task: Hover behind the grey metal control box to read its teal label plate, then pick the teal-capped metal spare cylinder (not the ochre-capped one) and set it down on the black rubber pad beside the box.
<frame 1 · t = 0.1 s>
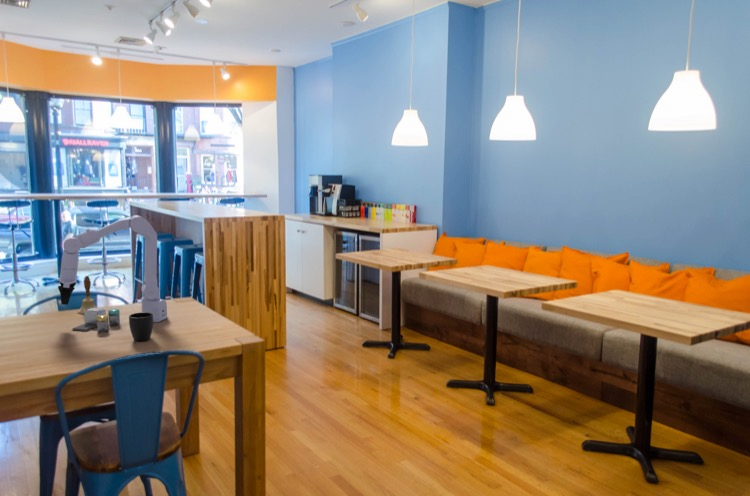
hand: (65, 302, 217), 10 cm above the table, tool pointing down, fingers open, 7 cm apart
pad: (84, 328, 218), on the table
hand bell: (88, 312, 243), on the table
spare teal: (114, 324, 224), on the table
mug: (143, 338, 208), on the table
control box: (95, 324, 224), on the table
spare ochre: (103, 331, 215), on the table
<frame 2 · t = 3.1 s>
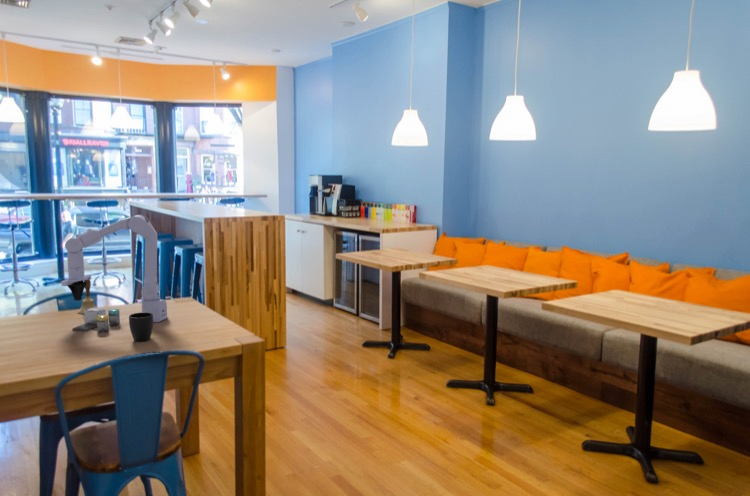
hand: (77, 300, 224), 10 cm above the table, tool pointing down, fingers closed
nothing on the table moved.
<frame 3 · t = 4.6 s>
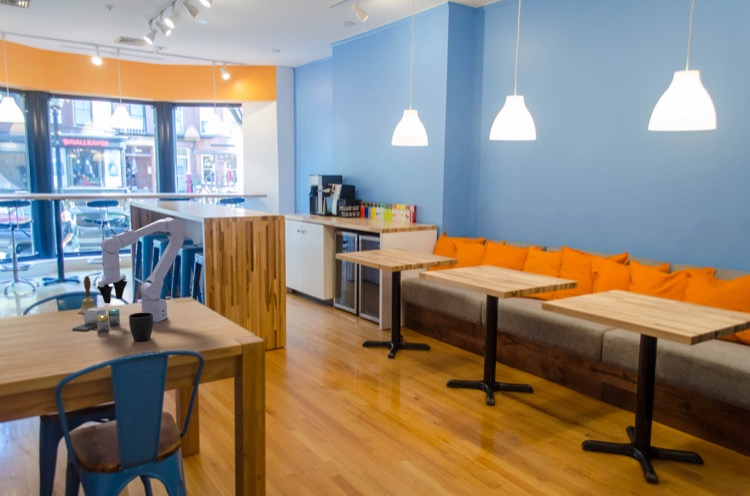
hand: (113, 300, 223), 10 cm above the table, tool pointing down, fingers open, 7 cm apart
nothing on the table moved.
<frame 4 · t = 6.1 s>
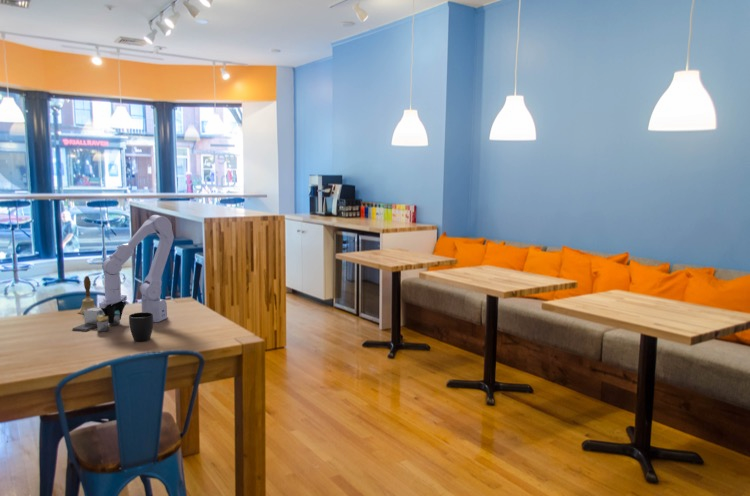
hand: (114, 321, 224), 1 cm above the table, tool pointing down, fingers closed on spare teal, 4 cm apart
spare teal: (114, 324, 224), on the table, touching gripper
everything else where it was.
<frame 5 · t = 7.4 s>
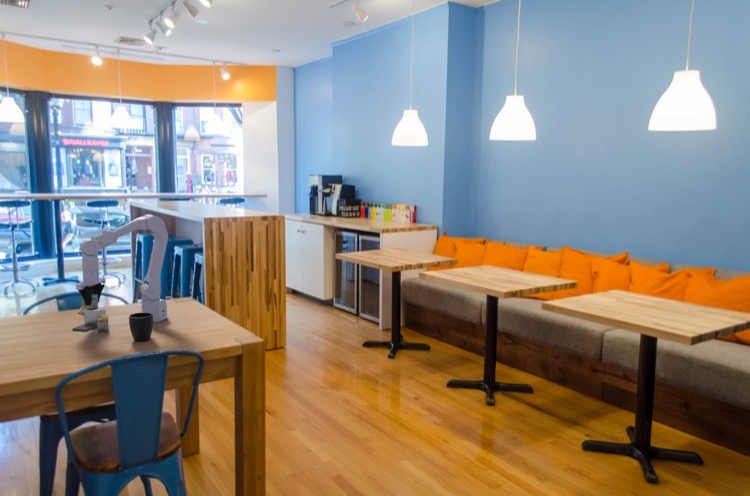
hand: (92, 304, 219), 10 cm above the table, tool pointing down, fingers closed on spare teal, 4 cm apart
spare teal: (92, 309, 219), point 8 cm above the table, touching gripper
everything else where it was.
when the fingers open (4 cm above the table, at t = 9.1 s): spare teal stays where it is, resting on pad.
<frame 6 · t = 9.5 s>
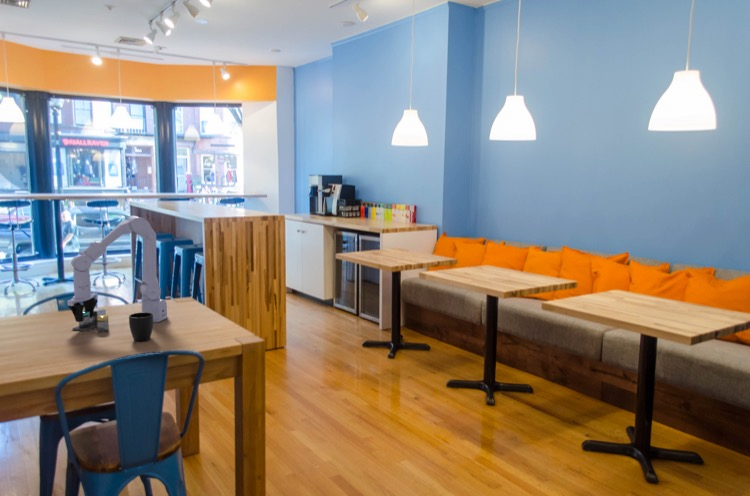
hand: (84, 319, 218), 4 cm above the table, tool pointing down, fingers open, 5 cm apart
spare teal: (84, 326, 218), point 1 cm above the table, touching pad
everything else where it was.
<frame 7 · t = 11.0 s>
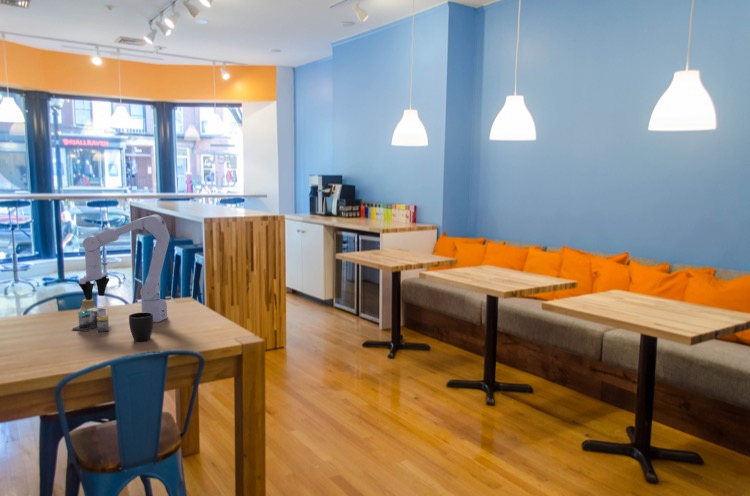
hand: (95, 297, 228), 10 cm above the table, tool pointing down, fingers open, 7 cm apart
nothing on the table moved.
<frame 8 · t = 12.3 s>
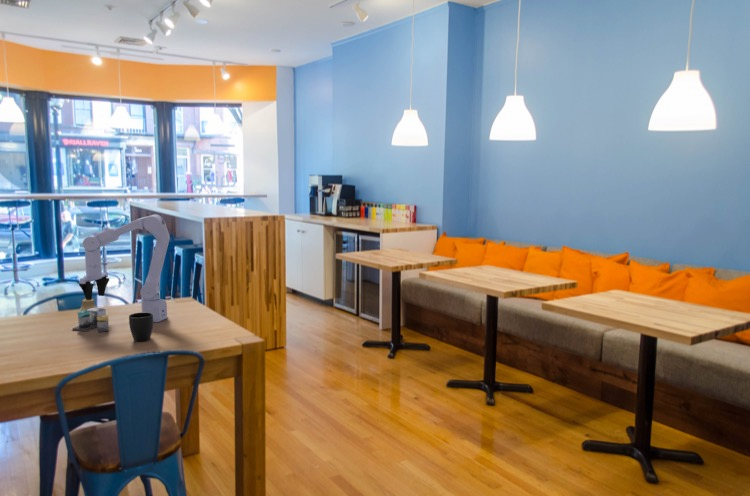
hand: (95, 297, 228), 10 cm above the table, tool pointing down, fingers open, 7 cm apart
nothing on the table moved.
at the end: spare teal 0.1 cm off-centre on the pad, point 0.9 cm above the pad's base; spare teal tilted 2°; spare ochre moved 0.0 cm from its start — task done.
